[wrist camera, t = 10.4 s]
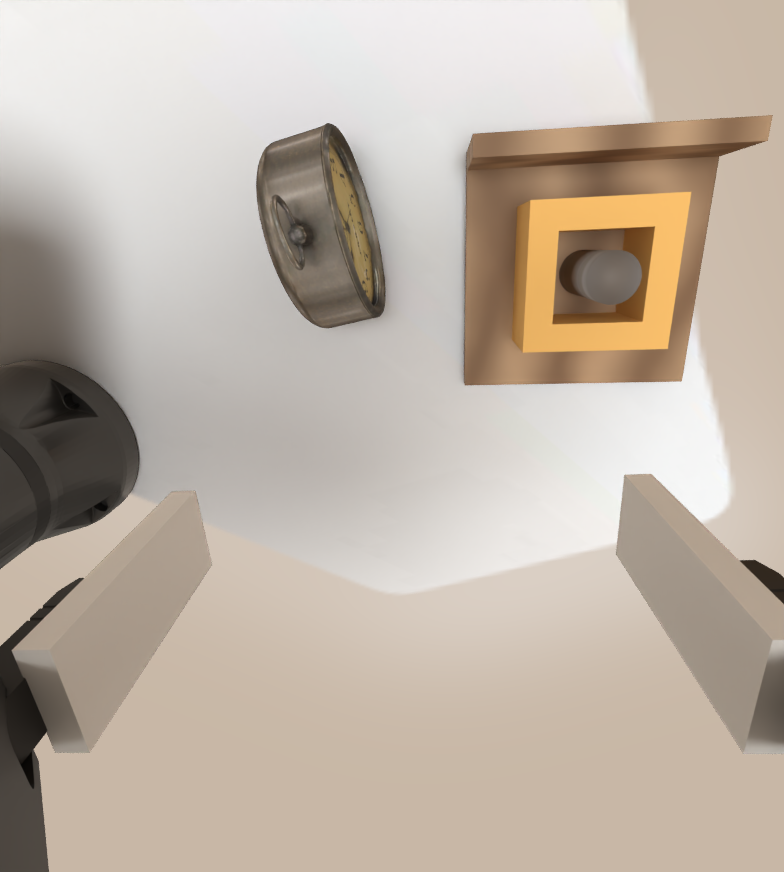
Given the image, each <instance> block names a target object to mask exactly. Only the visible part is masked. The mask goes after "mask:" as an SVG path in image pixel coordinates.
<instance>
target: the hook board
mask: <svg viewBox="0 0 784 872" xmlns="http://www.w3.org/2000/svg"><path fill="white" fill-rule="evenodd" d="M771 121H772V115H768V116H754V117H753V116H752V117H736V118H720V119H704V120H690V121H689V120H688V121H673V122H656V123H639V124H623V125H607V126H591V127H575V128H559V129H543V130H527V131H511V132H495V133H479V134H473V135H472V138H471V141H470V144H469V147H468V150H467V157H466V248H465V340H464V383H465V385H502V384H558V383H614V382H669V381H682V376H683V370H684V364H685V358H686V352H687V346H688V340H689V334H690V328H691V323H692V317H693V311H694V305H695V299H696V293H697V286H698V281H699V275H700V269H701V263H702V257H703V251H704V245H705V239H706V233H707V227H708V221H709V215H710V208H711V203H712V197H713V190H714V184H715V179H716V172H717V167H718V161H719V156H722V155H725V154H728V153H731V152H734V151H737V150H740V149H743V148H746V147H749V146H753V145H756V144H759V143H762V142H765V141H768V137H769V131H770V126H771ZM676 192H691V198H690V205H689V211H688V218H687V225H686V231H685V238H684V244H683V251H682V258H681V264H680V271H679V278H678V284H677V291H676V297H675V304H674V311H673V317H672V324H671V330H670V337H669V344H668V349H646V350H607V351H567V352H527V353H523V352H522V351H521V350H520V349H519V347H518V346H517V345H516V344H515V343H514V342H513V340H512V323H513V299H514V275H515V252H516V228H517V207H518V206H520V205H522V204H524V203H526V202H528V201H530V200H542V199H561V198H580V197H599V196H619V195H638V194H657V193H676ZM624 233H625V229H623V230H602V231H580V232H559V236H558V251H557V265H556V279H555V294H554V308H553V314H575V313H607V312H616V304H619V303H622V302H624V301H626V300H627V299H629V298H630V297H631V296H632V295H633V294H634V293H635V292H636V290H637V289H638V287H639V285H640V282H641V278H642V269H641V265H640V263H639V261H638V259H637V258H636V257H635V256H634V255H633V254H631V253H629V252H627V251H623V242H624Z"/></svg>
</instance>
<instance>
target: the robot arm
mask: <svg viewBox="0 0 784 872" xmlns="http://www.w3.org/2000/svg"><path fill="white" fill-rule="evenodd" d="M138 462H139V460H138V449H137V444H136V440H135V437H134V434H133V431H132V429H131V426H130V424H129V422H128V420H127V418H126V417H125V415H124V413H123V412H122V410H121V409H120V408H119V406H118V405H117V404H116V402H115V401H114V400H113V399H112V398H111V397H110V396H109V395H108V394H107V393H106V392H105V391H104V390H103V389H102V388H101V387H100V386H99V385H97V384H96V383H95V382H93V381H92V380H91V379H89V378H88V377H86V376H84V375H83V374H81V373H79V372H77V371H75V370H73V369H71V368H68V367H66V366H63V365H60V364H56V363H52V362H47V361H39V360H28V361H20V362H15V363H11V364H8V365H4V366H0V569H1V568H2V567H3V566H5V565H6V564H7V563H8V562H10V561H11V560H12V559H14V558H15V557H16V556H18V555H19V554H20V553H22V552H23V551H24V550H26V549H27V548H28V547H30V546H31V545H33V544H34V543H35V542H38V541H40V540H44V539H47V538H50V537H54V536H57V535H60V534H63V533H66V532H70V531H73V530H76V529H79V528H82V527H86V526H88V525H91V524H93V523H95V522H97V521H98V520H100V519H102V518H103V517H105V516H106V515H107V514H109V513H110V512H111V511H112V510H113V509H115V508H116V507H117V506H118V505H120V504H121V503H122V502H123V501H124V500H125V499H126V497H127V496H128V495H129V493H130V492H131V490H132V488H133V486H134V483H135V481H136V477H137V473H138ZM616 555H617V556H618V558H619V560H620V561H621V563H622V564H623V566H624V568H625V569H626V571H627V572H628V573H629V575H630V577H631V578H632V580H633V582H634V583H635V585H636V586H637V588H638V589H639V591H640V592H641V594H642V596H643V597H644V599H645V600H646V602H647V604H648V605H649V607H650V608H651V610H652V611H653V613H654V615H655V616H656V618H657V619H658V621H659V622H660V624H661V626H662V627H663V629H664V630H665V632H666V633H667V635H668V636H669V638H670V640H671V641H672V643H673V644H674V646H675V647H676V649H677V651H678V652H679V654H680V655H681V657H682V658H683V660H684V662H685V663H686V665H687V666H688V668H689V669H690V671H691V672H692V674H693V676H694V677H695V679H696V680H697V682H698V683H699V685H700V687H701V688H702V690H703V691H704V693H705V695H706V696H707V698H708V699H709V701H710V702H711V704H712V705H713V707H714V709H715V710H716V712H717V713H718V715H719V716H720V718H721V720H722V721H723V723H724V724H725V726H726V727H727V729H728V731H729V732H730V733H731V735H732V737H733V738H734V740H735V741H736V743H737V745H738V746H739V748H740V749H741V751H742V752H743V754H784V578H783V576H781V575H780V574H779V573H777V572H776V571H774V570H772V569H770V568H768V567H767V566H765V565H763V564H761V563H759V562H757V561H756V560H741V561H739V560H738V559H737V558H736V557H735V556H734V555H733V554H732V553H731V552H730V551H729V550H728V549H727V548H726V547H725V546H724V545H723V544H722V543H721V542H720V541H719V540H718V539H717V538H716V537H715V536H714V535H713V534H712V533H711V532H710V531H709V530H708V529H707V528H706V527H705V526H704V525H703V524H702V523H701V522H700V521H699V520H698V519H697V518H696V517H695V516H694V515H692V514H691V513H690V512H689V511H688V510H687V509H686V508H685V507H684V506H683V505H682V504H681V503H680V502H679V501H678V500H677V499H676V498H675V497H674V496H673V495H672V494H671V493H670V492H669V491H668V490H667V489H666V488H665V487H664V486H663V485H662V484H661V483H660V482H659V481H658V480H657V479H656V478H655V477H654V476H653V475H652V474H636V475H624V484H623V493H622V503H621V512H620V521H619V531H618V540H617V549H616ZM211 566H212V562H211V558H210V553H209V549H208V544H207V540H206V536H205V531H204V527H203V523H202V518H201V514H200V509H199V505H198V501H197V496H196V492H195V491H175V492H171V493H170V494H169V495H168V496H167V497H166V498H165V499H164V500H163V501H162V502H161V503H160V504H159V505H158V506H157V507H156V508H155V509H154V510H153V511H152V512H151V513H150V514H149V515H148V516H147V517H146V518H145V519H144V520H143V521H142V522H141V523H140V524H139V525H138V526H137V527H136V528H135V529H134V530H133V531H132V532H131V533H130V534H129V535H127V536H126V537H125V539H123V540H122V541H121V542H120V543H119V544H118V545H117V546H116V547H115V549H113V551H111V552H110V553H109V554H108V555H107V556H106V557H105V558H104V559H103V560H102V561H101V562H100V563H99V564H98V565H97V566H96V567H95V568H94V569H93V570H92V571H91V572H90V573H89V574H88V575H87V576H86V577H85V578H79V579H77V580H75V581H74V582H72V583H70V584H69V585H67V586H66V587H64V588H62V589H61V590H59V591H58V592H57V593H56V594H55V595H54V596H53V597H51V598H50V599H49V600H48V601H47V602H46V603H45V604H44V605H43V608H42V609H39V610H38V611H37V612H36V613H35V614H34V615H33V616H32V617H31V618H30V621H26V622H25V623H24V624H23V625H22V626H21V627H20V628H19V629H18V630H17V631H16V632H15V633H14V634H13V635H12V636H11V637H10V638H9V639H8V640H7V641H6V642H4V643H3V644H2V645H1V646H0V872H49V869H48V858H47V847H46V837H45V825H44V815H43V804H42V793H41V782H40V771H39V761H38V759H37V756H36V754H35V752H34V750H33V749H34V748H35V746H36V745H37V744H38V742H39V741H40V740H41V739H42V737H43V736H44V735H45V733H46V732H47V735H48V737H49V739H50V741H51V744H52V746H53V749H54V751H55V753H62V752H63V753H90V751H91V750H92V748H93V747H94V745H95V744H96V742H97V741H98V739H99V738H100V736H101V734H102V733H103V731H104V730H105V728H106V727H107V725H108V724H109V722H110V721H111V719H112V718H113V716H114V715H115V713H116V711H117V710H118V708H119V707H120V705H121V704H122V702H123V701H124V699H125V698H126V696H127V695H128V693H129V692H130V690H131V688H132V687H133V685H134V684H135V682H136V681H137V679H138V678H139V676H140V675H141V673H142V672H143V670H144V668H145V667H146V665H147V664H148V662H149V660H150V659H151V658H152V656H153V655H154V653H155V652H156V650H157V648H158V647H159V645H160V644H161V642H162V641H163V639H164V638H165V636H166V635H167V633H168V631H169V630H170V629H171V627H172V625H173V624H174V622H175V621H176V619H177V618H178V616H179V615H180V613H181V612H182V610H183V609H184V607H185V605H186V604H187V602H188V600H189V599H190V598H191V596H192V595H193V593H194V592H195V590H196V589H197V587H198V585H199V584H200V582H201V581H202V579H203V577H204V576H205V575H206V573H207V571H208V570H209V569H210V567H211Z"/></svg>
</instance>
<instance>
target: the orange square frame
mask: <svg viewBox="0 0 784 872" xmlns="http://www.w3.org/2000/svg"><path fill="white" fill-rule="evenodd" d="M690 198H691V192H676V193H657V194H638V195H619V196H599V197H580V198H561V199H542V200H530V201H528V202H526V203H524V204H522V205H520V206H518V207H517V228H516V252H515V275H514V299H513V323H512V340H513V342H514V343H515V344H516V345H517V346H518V347H519V349H520V350H521V351H522V352H523V353H527V352H567V351H607V350H646V349H668V344H669V337H670V330H671V324H672V317H673V311H674V304H675V297H676V291H677V284H678V278H679V271H680V264H681V258H682V251H683V244H684V238H685V231H686V225H687V218H688V211H689V205H690ZM623 229H625V233H624V242H623V251H627V252H629V253H631V254H633V255H634V256H635V257H636V258H637V259H638V261H639V263H640V265H641V269H642V278H641V282H640V285H639V287H638V289H637V290H636V292H635V293H634V294H633V295H632V296H631V297H630V298H629V299H627V300H626V301H624V302H622V303H619V304H616V312H607V313H575V314H553V308H554V294H555V279H556V265H557V251H558V236H559V232H580V231H602V230H623Z"/></svg>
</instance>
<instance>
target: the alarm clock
mask: <svg viewBox="0 0 784 872" xmlns="http://www.w3.org/2000/svg"><path fill="white" fill-rule="evenodd" d="M256 188H257V202H258V210H259V216H260V220H261V224H262V229H263V233H264V237H265V240H266V244H267V247H268V251H269V253H270V256H271V259H272V262H273V265H274V267H275V269H276V272H277V274H278V276H279V278H280V281H281V283H282V285H283V287H284V289H285V290H286V292H287V294H288V296H289V297H290V299H291V301H292V302H293V304H294V305H295V307H296V308H297V309H298V311H299V312H300V313H301V314H302V315H303V316H304V317H305V318H306V319H307V320H309V321H310V322H311V323H313V324H315V325H317V326H319V327H322V328H332V327H337V326H341V325H345V324H350V323H354V322H358V321H362V320H367V319H371V318H376V317H379V316H380V315H381V314H382V313H383V311H384V306H385V278H384V272H383V264H382V258H381V252H380V246H379V241H378V237H377V232H376V228H375V224H374V219H373V216H372V212H371V208H370V204H369V201H368V198H367V194H366V191H365V188H364V184H363V181H362V179H361V176H360V173H359V170H358V167H357V164H356V162H355V159H354V157H353V154H352V152H351V150H350V147H349V145H348V143H347V141H346V140H345V138H344V136H343V135H342V133H341V132H340V131H339V129H338V128H337V127H336V126H334V125H332V124H330V123H327V124H325V125H324V126H321V127H318V128H316V129H312V130H309V131H306V132H303V133H300V134H297V135H294V136H291V137H288V138H284V139H281V140H278V141H275V142H273V143H271V144H270V145H269V146H268V147H266V149H265V150H264V152H263V154H262V156H261V159H260V161H259V165H258V171H257V181H256Z"/></svg>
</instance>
